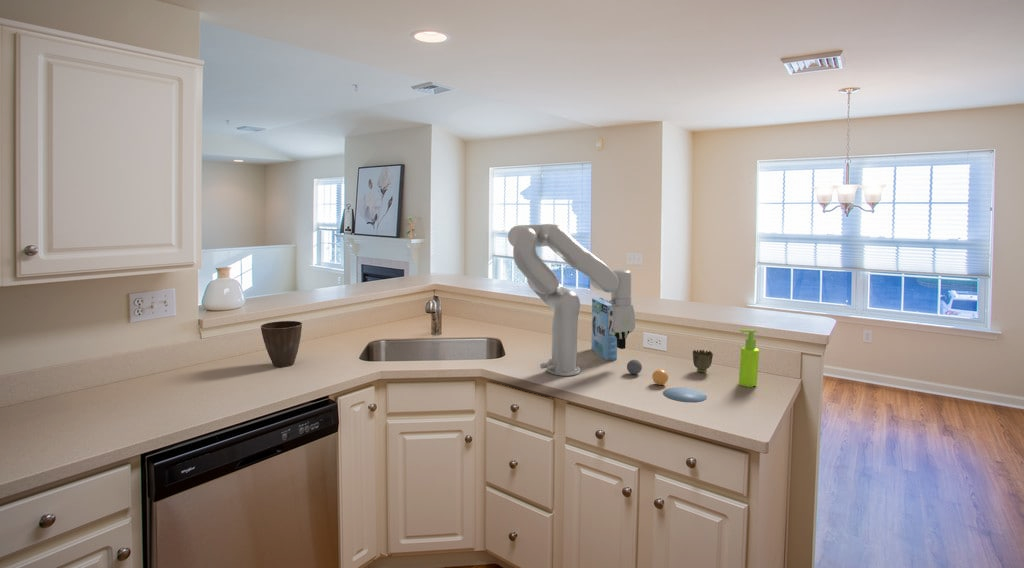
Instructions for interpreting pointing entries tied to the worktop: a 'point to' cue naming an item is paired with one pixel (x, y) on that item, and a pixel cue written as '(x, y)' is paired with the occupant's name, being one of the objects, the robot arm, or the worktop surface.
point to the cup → (702, 360)
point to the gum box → (602, 330)
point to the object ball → (660, 377)
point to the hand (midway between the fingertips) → (621, 348)
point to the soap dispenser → (749, 361)
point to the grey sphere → (634, 367)
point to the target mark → (685, 394)
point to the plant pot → (282, 341)
